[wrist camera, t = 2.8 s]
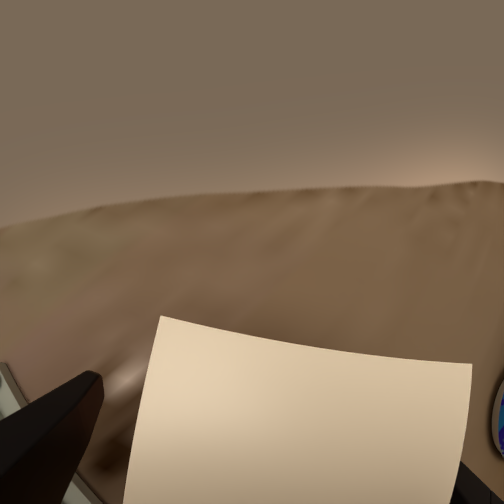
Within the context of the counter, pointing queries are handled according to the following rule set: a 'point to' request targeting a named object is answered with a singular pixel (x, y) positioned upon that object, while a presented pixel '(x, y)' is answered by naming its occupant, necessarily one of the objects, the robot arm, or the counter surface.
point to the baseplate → (11, 400)
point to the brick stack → (292, 423)
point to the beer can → (498, 420)
